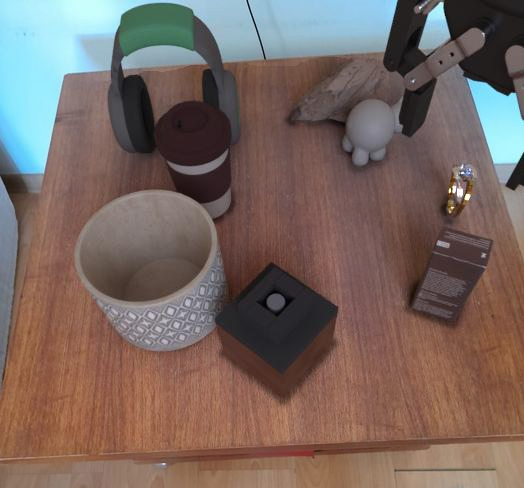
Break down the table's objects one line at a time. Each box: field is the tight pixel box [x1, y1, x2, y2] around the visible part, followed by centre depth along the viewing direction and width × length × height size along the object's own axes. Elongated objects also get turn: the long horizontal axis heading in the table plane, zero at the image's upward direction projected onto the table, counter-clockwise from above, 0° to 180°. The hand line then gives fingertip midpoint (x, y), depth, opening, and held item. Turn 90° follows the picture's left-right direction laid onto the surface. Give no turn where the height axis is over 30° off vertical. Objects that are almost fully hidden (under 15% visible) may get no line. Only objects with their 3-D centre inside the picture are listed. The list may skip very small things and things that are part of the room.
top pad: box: [237, 267, 314, 346], centre depth 53 cm, size 6×6×3 cm
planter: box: [73, 189, 229, 352], centre depth 61 cm, size 16×16×13 cm
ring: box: [445, 159, 478, 219], centre depth 68 cm, size 7×3×8 cm, turn 168°
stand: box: [216, 312, 339, 399], centre depth 59 cm, size 10×10×8 cm
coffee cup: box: [154, 100, 232, 220], centre depth 67 cm, size 10×10×15 cm
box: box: [409, 225, 494, 323], centre depth 59 cm, size 6×4×12 cm
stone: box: [288, 56, 388, 124], centre depth 78 cm, size 15×9×10 cm
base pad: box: [215, 261, 339, 374], centre depth 54 cm, size 10×10×4 cm
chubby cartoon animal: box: [341, 94, 404, 167], centre depth 73 cm, size 7×12×8 cm, turn 107°
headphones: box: [107, 2, 242, 155], centre depth 71 cm, size 19×11×20 cm, turn 93°
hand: (461, 154), depth 36 cm, fingers open, 8 cm apart
